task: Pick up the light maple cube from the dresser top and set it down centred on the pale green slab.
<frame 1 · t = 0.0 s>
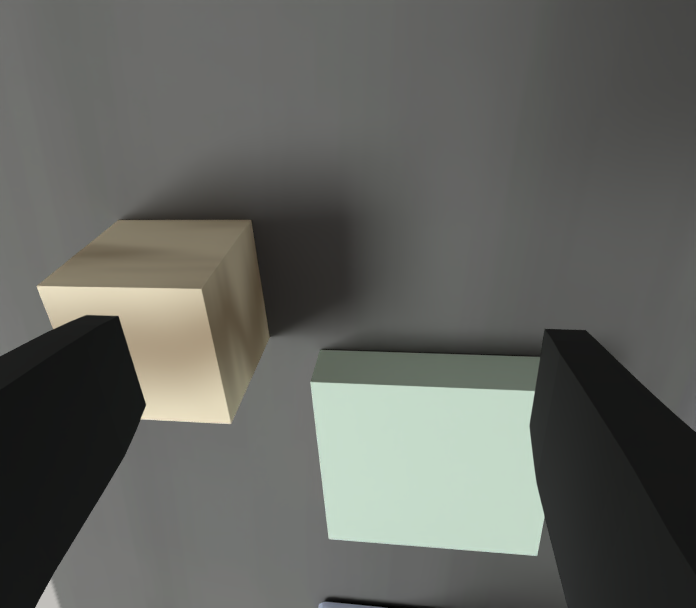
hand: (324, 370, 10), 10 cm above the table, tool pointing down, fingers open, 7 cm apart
pale green slab: (432, 439, 24), on the table
maple cube: (198, 280, 21), on the table
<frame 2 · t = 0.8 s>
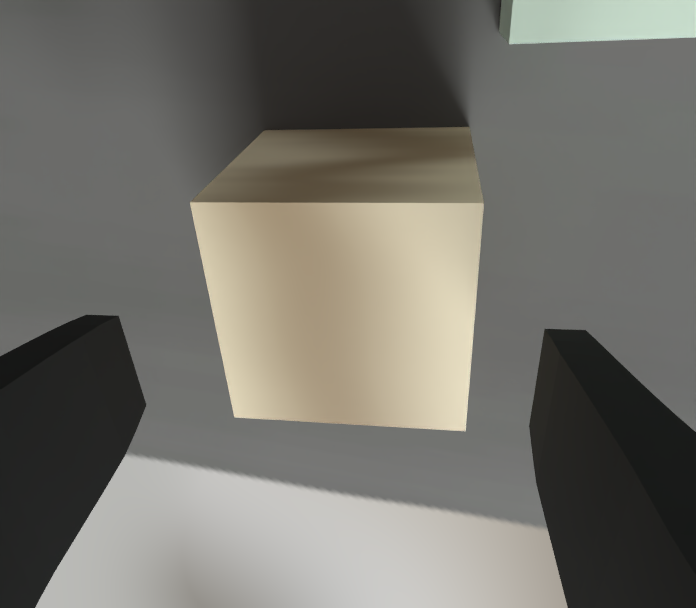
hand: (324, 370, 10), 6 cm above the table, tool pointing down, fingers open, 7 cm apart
maple cube: (367, 223, 15), on the table
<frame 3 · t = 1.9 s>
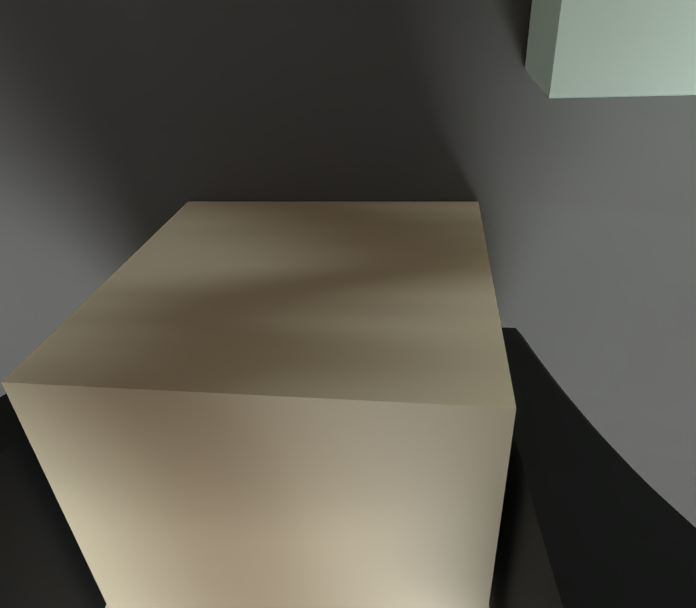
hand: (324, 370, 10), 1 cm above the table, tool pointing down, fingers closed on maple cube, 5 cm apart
maple cube: (336, 324, 11), on the table, touching gripper
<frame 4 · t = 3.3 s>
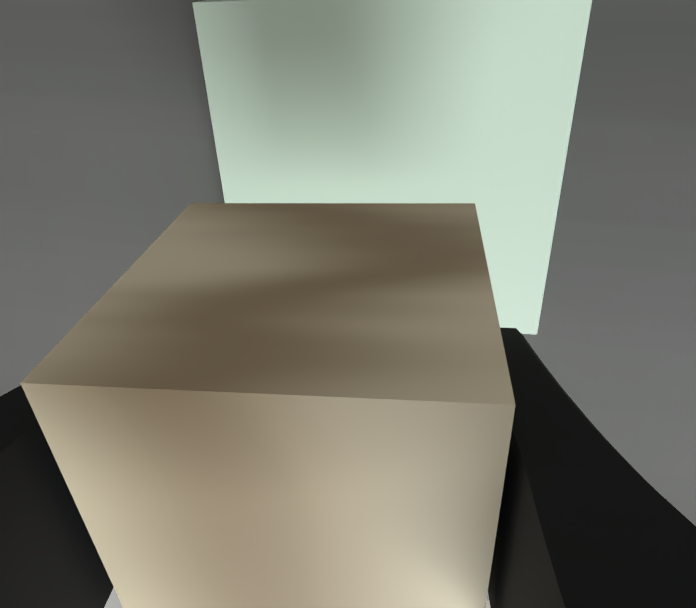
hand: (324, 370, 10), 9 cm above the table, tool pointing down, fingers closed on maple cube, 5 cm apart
pale green slab: (389, 164, 17), on the table
maple cube: (336, 322, 11), point 7 cm above the table, touching gripper
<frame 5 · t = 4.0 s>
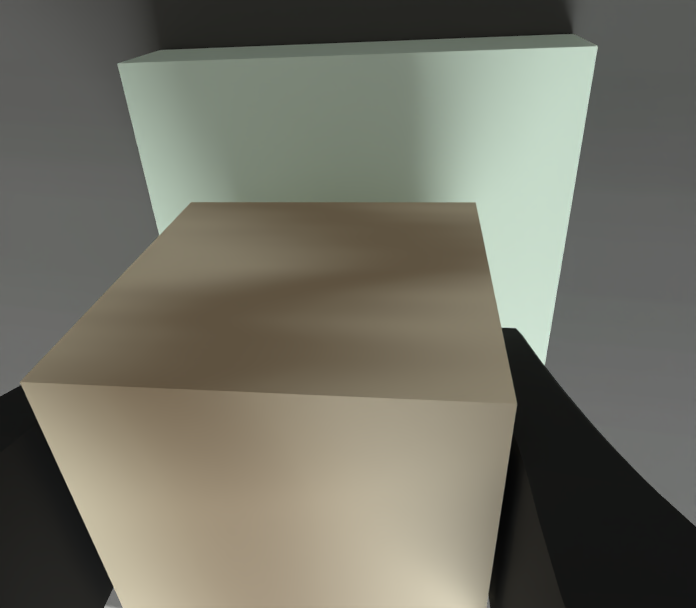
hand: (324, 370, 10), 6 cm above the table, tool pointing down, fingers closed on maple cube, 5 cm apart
pale green slab: (363, 233, 14), on the table
maple cube: (336, 322, 11), point 4 cm above the table, touching gripper
when the fingers open (4 cm above the table, at t = 4.8 s): maple cube stays where it is, resting on pale green slab.
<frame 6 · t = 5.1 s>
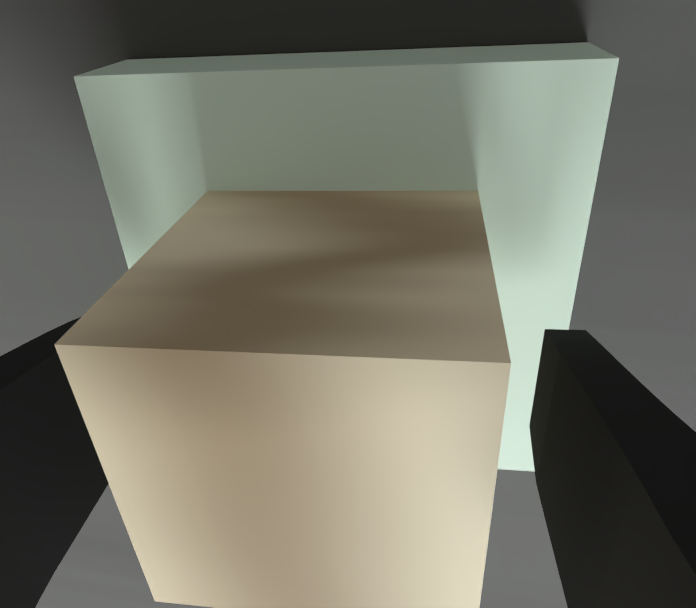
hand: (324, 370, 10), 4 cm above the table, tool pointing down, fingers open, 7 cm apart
pale green slab: (354, 259, 13), on the table
maple cube: (344, 307, 11), point 2 cm above the table, touching pale green slab
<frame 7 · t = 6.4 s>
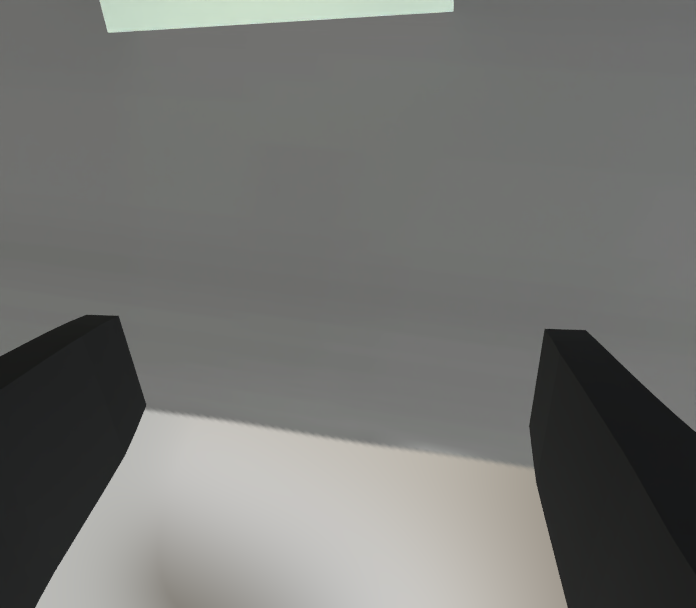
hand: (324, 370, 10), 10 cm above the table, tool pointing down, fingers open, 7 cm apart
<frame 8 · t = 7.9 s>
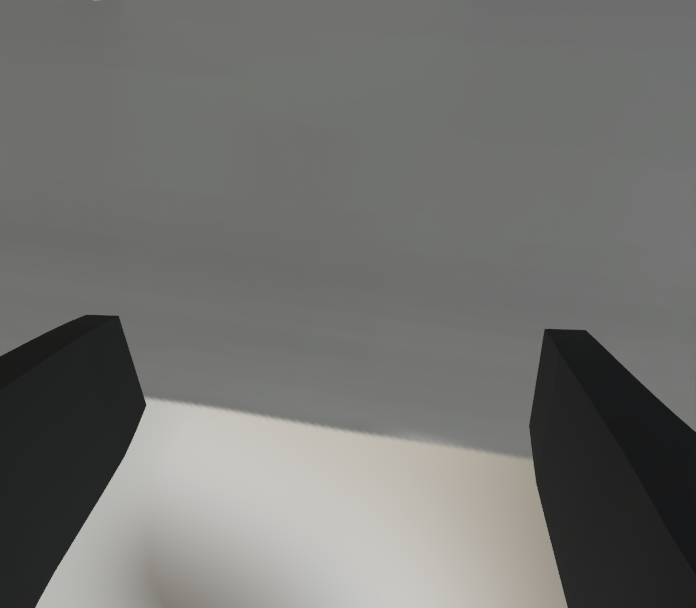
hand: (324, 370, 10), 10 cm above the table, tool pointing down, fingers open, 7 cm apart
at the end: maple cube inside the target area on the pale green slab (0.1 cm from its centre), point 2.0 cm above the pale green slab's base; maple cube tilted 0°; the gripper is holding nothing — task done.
